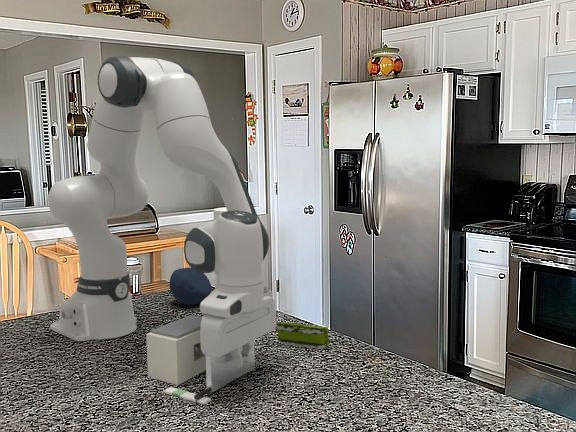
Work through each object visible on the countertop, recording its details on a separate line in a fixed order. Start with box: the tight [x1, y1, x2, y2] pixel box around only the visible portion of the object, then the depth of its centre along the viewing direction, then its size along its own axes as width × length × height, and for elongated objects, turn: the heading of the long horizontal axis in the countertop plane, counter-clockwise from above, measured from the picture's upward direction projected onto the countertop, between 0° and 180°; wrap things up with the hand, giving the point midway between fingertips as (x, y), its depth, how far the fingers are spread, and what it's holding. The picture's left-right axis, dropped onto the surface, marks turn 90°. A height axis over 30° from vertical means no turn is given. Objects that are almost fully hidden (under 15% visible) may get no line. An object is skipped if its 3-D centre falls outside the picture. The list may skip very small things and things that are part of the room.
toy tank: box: [274, 321, 330, 350], centre depth 144 cm, size 7×19×10 cm
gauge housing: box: [145, 314, 212, 405], centre depth 123 cm, size 18×18×10 cm
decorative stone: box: [169, 267, 213, 306], centre depth 176 cm, size 12×12×10 cm
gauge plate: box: [194, 340, 256, 399], centre depth 122 cm, size 11×18×8 cm, turn 148°
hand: (241, 364), depth 120 cm, fingers closed
